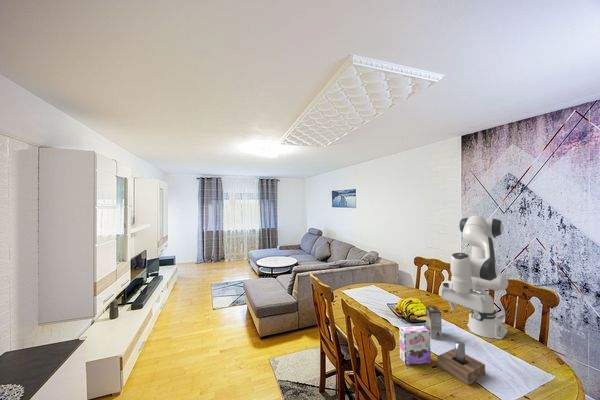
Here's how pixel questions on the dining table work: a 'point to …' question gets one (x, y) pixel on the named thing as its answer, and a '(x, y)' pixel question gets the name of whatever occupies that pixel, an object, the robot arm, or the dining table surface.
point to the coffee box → (434, 322)
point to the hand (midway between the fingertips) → (463, 314)
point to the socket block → (461, 367)
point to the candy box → (414, 345)
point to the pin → (460, 352)
